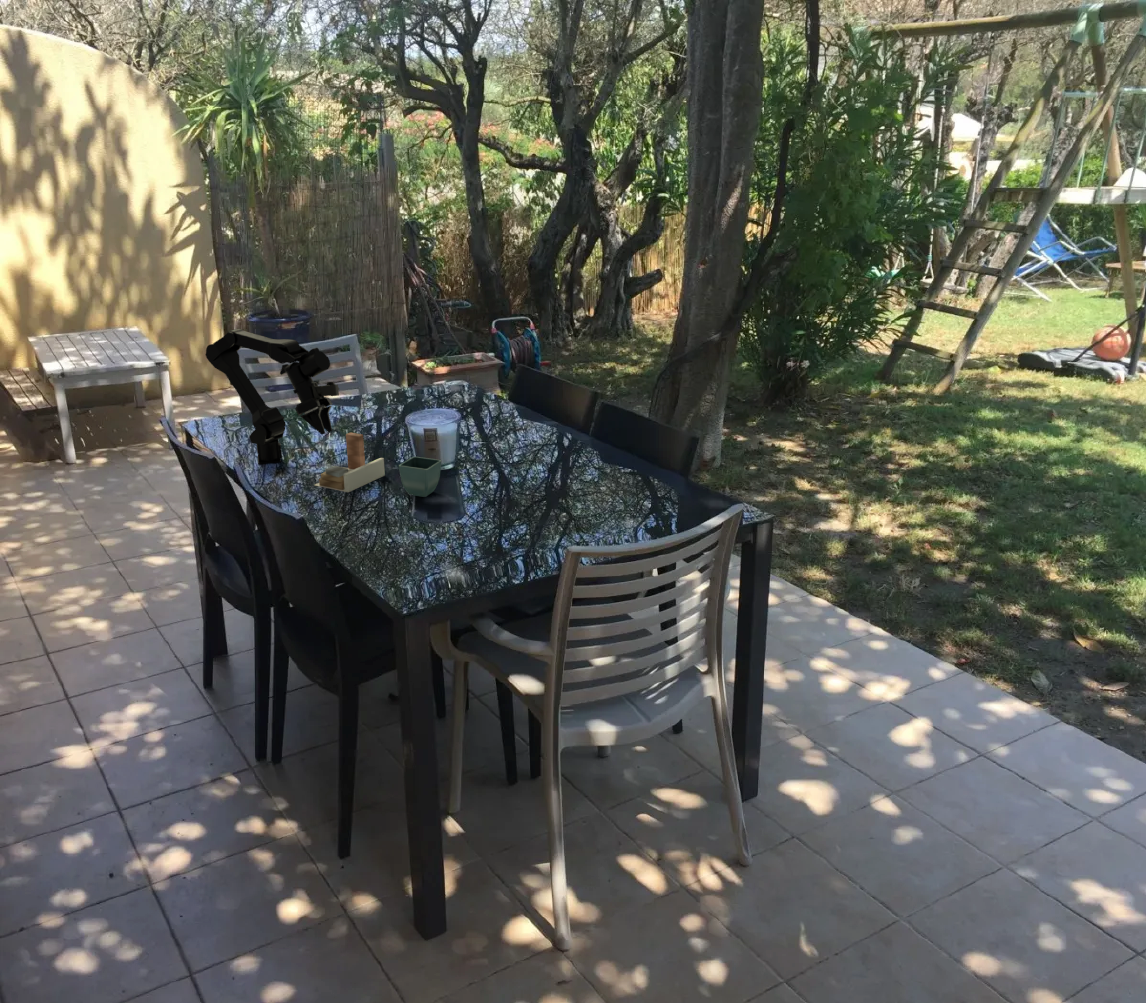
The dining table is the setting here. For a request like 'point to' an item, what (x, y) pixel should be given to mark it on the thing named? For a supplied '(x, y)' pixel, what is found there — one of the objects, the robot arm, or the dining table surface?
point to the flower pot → (420, 475)
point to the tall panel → (355, 450)
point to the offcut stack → (333, 477)
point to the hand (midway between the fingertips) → (327, 432)
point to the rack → (362, 475)
